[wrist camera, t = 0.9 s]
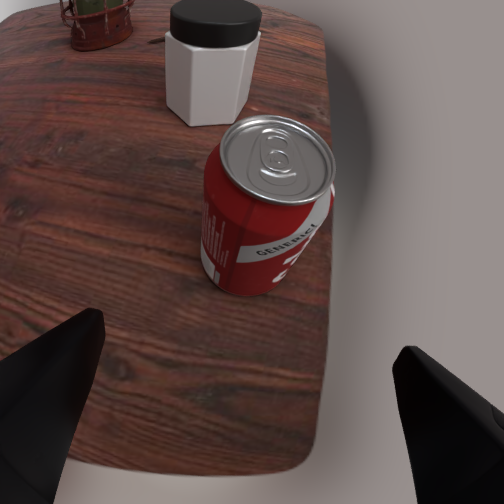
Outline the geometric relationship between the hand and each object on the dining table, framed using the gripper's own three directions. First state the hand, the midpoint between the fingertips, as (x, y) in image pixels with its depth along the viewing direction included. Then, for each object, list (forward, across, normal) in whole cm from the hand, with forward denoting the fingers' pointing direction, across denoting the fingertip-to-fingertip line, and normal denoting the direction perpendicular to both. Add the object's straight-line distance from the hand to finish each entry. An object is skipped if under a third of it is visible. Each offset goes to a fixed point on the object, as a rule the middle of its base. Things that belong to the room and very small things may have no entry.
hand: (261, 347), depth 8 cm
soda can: (+16, 0, +6) cm, 17 cm away
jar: (+30, +6, -6) cm, 31 cm away
